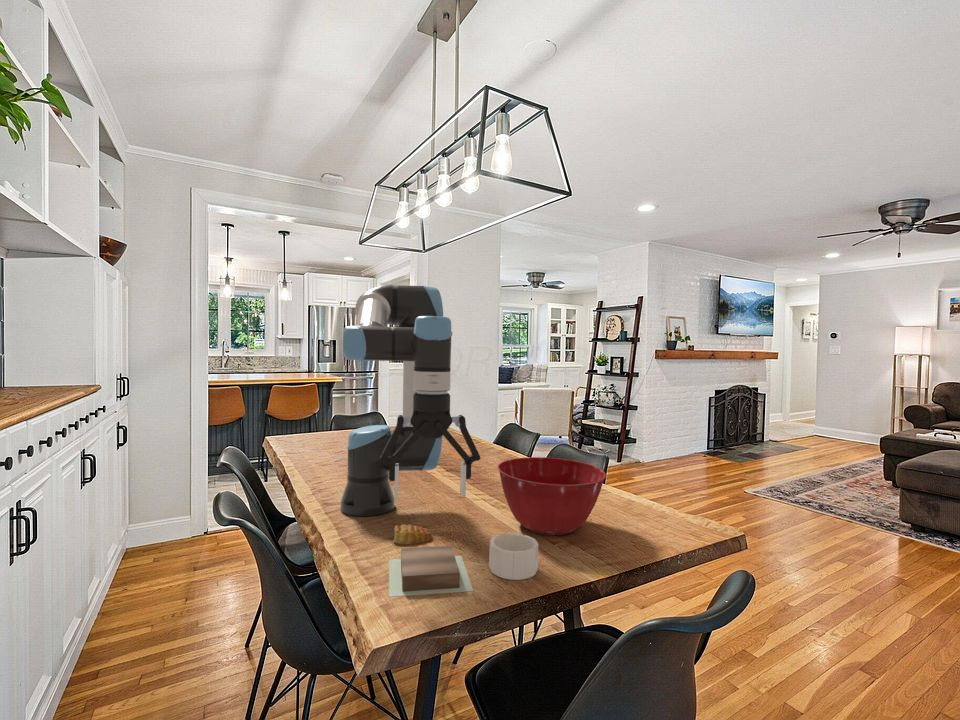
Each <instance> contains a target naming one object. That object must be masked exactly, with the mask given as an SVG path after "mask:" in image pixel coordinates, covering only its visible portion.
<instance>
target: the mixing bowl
mask: <svg viewBox="0 0 960 720" xmlns="http://www.w3.org/2000/svg"><path fill="white" fill-rule="evenodd" d="M497 470H498V472H499V479H500V482H501V487H502V490H503V494H504V496H505V499H506V502H507V505H508V508H509V509H510V511H511V513H512V515H513V517H514V518H515V520H516V521H517V522H518V523H519V524H520V525H521V526H523V527H524V528H525V529H526V530H528V531H530V532H533V533H536V534H540V535H546V536H562V535H568V534H570V533H572V532H573V531H575V530H577V529H580V527H582V526H583V525H584V524H585V522H586V521H587V520H588V518H589V516H590V515H591V513H592V511H593V510H594V507H595V506H596V502H597V501H598V498H599V496H600V493H601V490H602V487H603V484H604V480H605V479H606V477H607V474H606V472H605V471H604V470H603V469H602V468H599V467H598V466H596V465H593V464H589V463H587V462H584V461H583V462H581V461H578V460H574V459H564V458H559V457H547V456H546V457H545V456H544V457H542V456H541V457H540V456H538V457H537V456H535V457H534V456H531V457H530V456H529V457H517V458H511V459H507V460H503V461H501V462H500V463H498V464H497Z"/></svg>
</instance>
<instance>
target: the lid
mask: <svg viewBox="0 0 960 720" xmlns="http://www.w3.org/2000/svg"><path fill="white" fill-rule="evenodd" d="M452 546H453V545H443V546H441V545H440V546H421V547H420V546H419V547H404V548H403V547H401V548H400V559H401V575H402V592H406V591H421V590H436V589H450V588H459V583H460V572H459V569H458V566H457V562H456V559H455V556H456V555H455V552H454V550H453V547H452Z"/></svg>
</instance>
